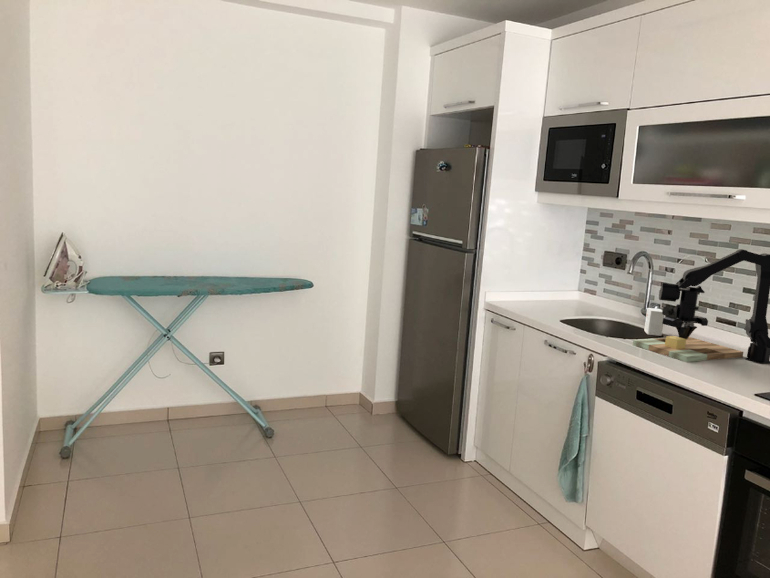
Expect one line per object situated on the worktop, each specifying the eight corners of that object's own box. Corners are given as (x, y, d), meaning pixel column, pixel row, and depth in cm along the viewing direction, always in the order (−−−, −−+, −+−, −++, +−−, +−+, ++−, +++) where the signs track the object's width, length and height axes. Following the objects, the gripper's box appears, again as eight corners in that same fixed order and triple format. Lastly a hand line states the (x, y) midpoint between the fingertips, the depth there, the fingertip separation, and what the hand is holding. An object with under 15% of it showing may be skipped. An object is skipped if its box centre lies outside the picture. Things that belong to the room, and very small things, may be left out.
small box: (661, 336, 265) (665, 312, 263) (647, 334, 266) (651, 310, 264) (657, 332, 272) (660, 308, 271) (643, 331, 273) (647, 307, 272)
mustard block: (684, 348, 236) (686, 339, 235) (676, 348, 234) (677, 339, 233) (673, 344, 240) (674, 335, 240) (664, 345, 238) (666, 336, 237)
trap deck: (742, 356, 238) (743, 351, 237) (686, 362, 223) (687, 356, 223) (687, 341, 259) (688, 336, 258) (632, 344, 244) (633, 339, 244)
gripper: (686, 298, 247) (680, 337, 250) (653, 299, 239) (647, 339, 241) (711, 304, 238) (705, 344, 240) (678, 305, 229) (672, 346, 232)
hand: (681, 343), depth 239 cm, fingers closed
